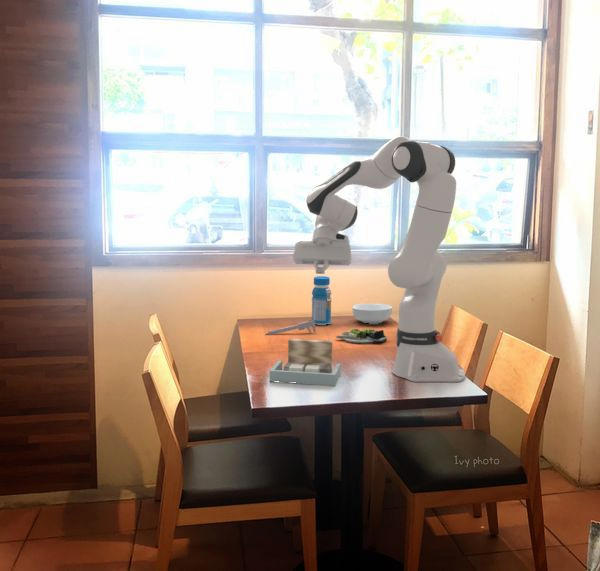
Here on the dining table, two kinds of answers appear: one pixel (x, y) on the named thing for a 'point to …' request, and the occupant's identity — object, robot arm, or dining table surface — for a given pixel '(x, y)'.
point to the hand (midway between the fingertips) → (319, 272)
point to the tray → (304, 376)
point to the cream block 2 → (312, 368)
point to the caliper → (296, 327)
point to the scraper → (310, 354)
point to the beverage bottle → (321, 301)
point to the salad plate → (363, 336)
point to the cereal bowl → (372, 312)
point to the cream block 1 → (296, 367)
